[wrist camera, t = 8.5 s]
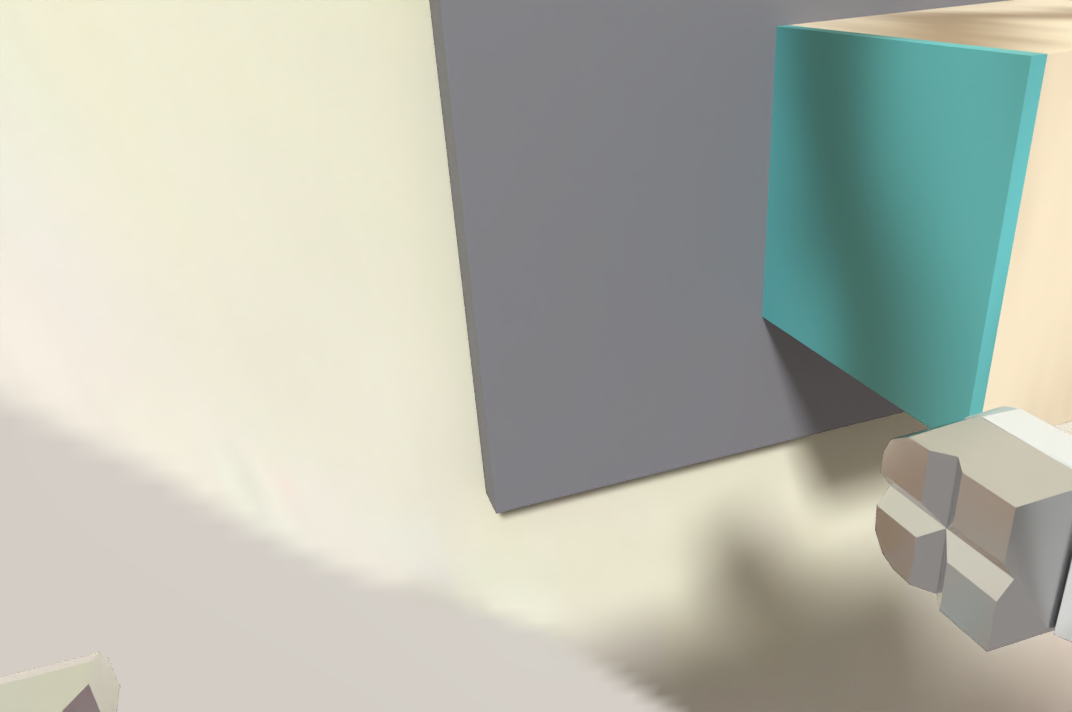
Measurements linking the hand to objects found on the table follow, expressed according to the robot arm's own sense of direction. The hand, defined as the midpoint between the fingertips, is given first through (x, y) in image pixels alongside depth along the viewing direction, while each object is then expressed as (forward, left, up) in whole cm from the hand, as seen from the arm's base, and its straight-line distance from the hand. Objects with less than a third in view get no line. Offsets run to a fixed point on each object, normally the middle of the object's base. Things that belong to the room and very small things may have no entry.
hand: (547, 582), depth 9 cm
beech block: (-9, 0, -8) cm, 12 cm away
